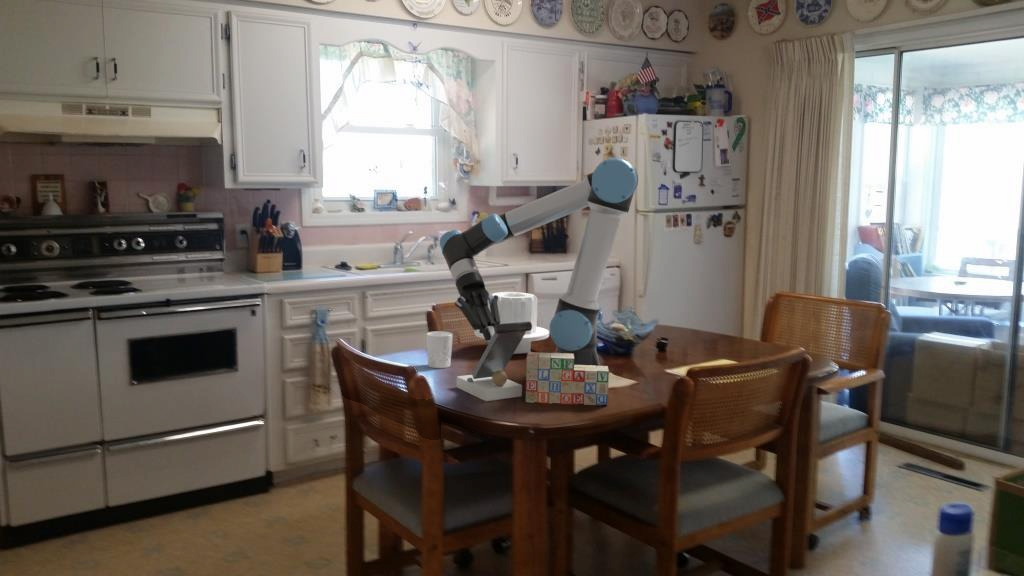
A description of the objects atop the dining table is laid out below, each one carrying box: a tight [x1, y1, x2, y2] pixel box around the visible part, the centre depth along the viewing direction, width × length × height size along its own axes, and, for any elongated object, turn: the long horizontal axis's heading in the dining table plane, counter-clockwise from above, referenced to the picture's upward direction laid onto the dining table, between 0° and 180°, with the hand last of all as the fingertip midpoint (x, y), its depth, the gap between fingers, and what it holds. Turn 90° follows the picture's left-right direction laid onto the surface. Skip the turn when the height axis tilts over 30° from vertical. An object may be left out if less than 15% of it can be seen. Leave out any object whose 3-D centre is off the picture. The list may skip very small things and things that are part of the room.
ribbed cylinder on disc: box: [473, 291, 550, 355], centre depth 275 cm, size 25×25×19 cm
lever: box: [471, 322, 532, 379], centre depth 217 cm, size 2×10×21 cm
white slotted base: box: [456, 370, 523, 402], centre depth 222 cm, size 16×11×7 cm
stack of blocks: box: [525, 351, 610, 406], centre depth 215 cm, size 21×6×12 cm, turn 86°
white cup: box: [426, 330, 453, 369], centre depth 251 cm, size 8×8×10 cm
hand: (497, 349), depth 218 cm, fingers closed
